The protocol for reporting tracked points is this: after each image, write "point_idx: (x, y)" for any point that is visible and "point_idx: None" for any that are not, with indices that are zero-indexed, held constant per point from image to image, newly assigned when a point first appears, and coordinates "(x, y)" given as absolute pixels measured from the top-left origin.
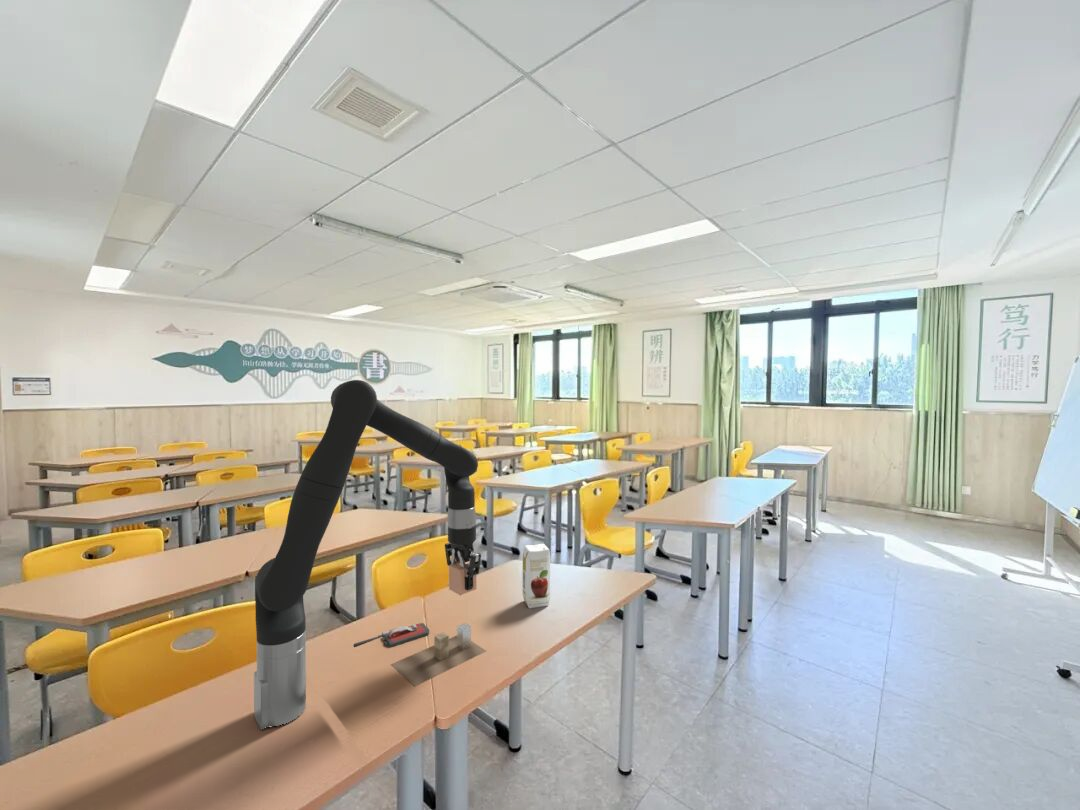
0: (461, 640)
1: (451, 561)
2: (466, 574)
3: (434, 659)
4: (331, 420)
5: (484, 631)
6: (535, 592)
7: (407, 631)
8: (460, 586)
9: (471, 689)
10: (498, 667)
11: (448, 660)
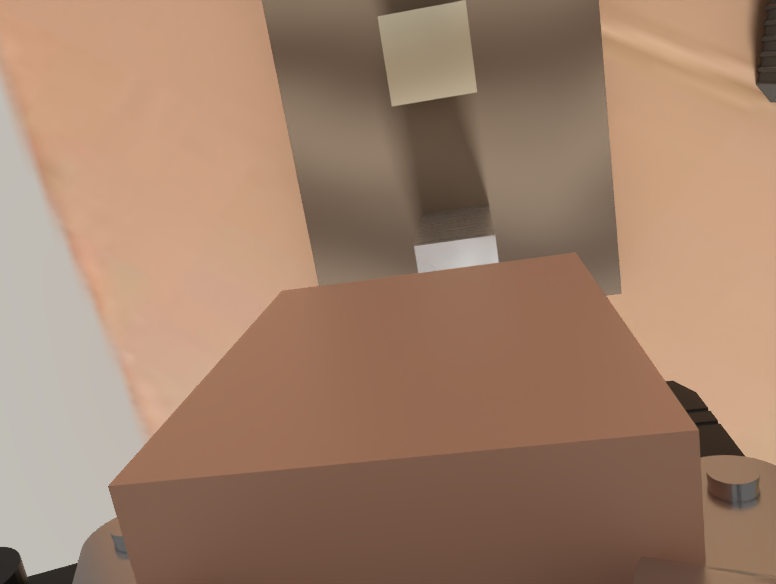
0: (434, 223)
1: (739, 575)
2: (116, 543)
3: (432, 1)
4: None
5: None
6: None
7: None
8: (243, 339)
9: (95, 100)
10: (203, 320)
11: (366, 81)
